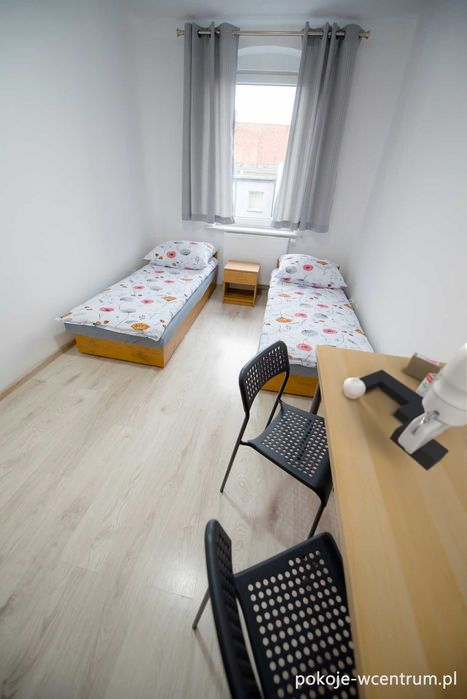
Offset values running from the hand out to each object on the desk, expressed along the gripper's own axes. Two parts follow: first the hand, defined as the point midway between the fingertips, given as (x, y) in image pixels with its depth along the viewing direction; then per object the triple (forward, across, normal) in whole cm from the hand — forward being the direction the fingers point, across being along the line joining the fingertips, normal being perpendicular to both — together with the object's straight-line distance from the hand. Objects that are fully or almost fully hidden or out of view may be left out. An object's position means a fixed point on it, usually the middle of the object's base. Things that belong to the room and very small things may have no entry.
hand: (417, 444), depth 68 cm
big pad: (+10, +23, +18) cm, 31 cm away
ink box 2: (+10, +36, +12) cm, 39 cm away
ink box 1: (+10, +45, +21) cm, 51 cm away
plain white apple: (+10, +10, +25) cm, 29 cm away
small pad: (+2, 0, 0) cm, 2 cm away
